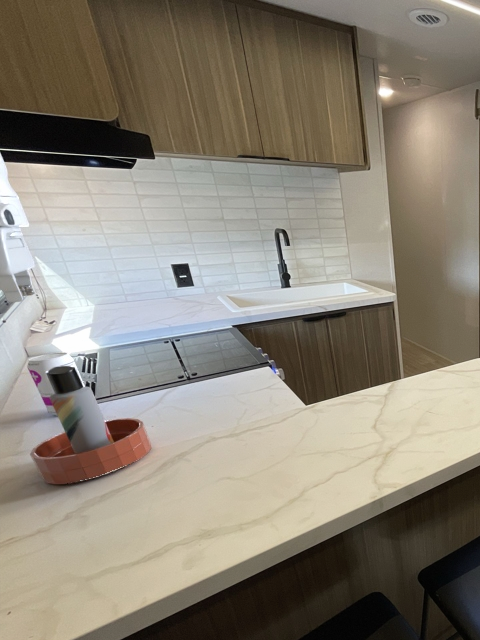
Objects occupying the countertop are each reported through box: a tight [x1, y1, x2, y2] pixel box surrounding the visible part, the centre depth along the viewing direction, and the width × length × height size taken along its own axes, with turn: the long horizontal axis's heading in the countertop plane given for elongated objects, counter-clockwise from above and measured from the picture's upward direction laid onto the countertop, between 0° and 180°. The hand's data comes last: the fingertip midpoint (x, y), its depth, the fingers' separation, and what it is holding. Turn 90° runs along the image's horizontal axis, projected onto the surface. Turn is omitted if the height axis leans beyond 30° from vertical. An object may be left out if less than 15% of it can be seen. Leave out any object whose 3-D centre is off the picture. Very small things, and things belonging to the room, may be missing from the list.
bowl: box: [29, 417, 152, 485], centre depth 81 cm, size 16×16×6 cm
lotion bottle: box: [46, 366, 114, 454], centre depth 78 cm, size 6×6×20 cm
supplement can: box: [26, 352, 86, 416], centre depth 105 cm, size 8×8×15 cm
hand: (22, 298), depth 72 cm, fingers open, 8 cm apart
